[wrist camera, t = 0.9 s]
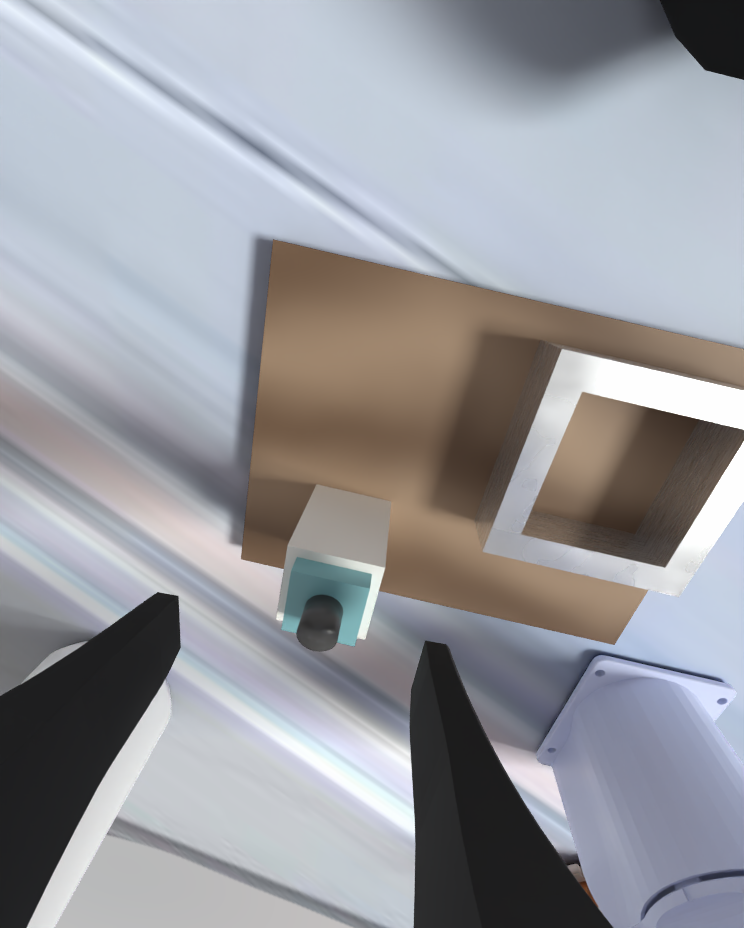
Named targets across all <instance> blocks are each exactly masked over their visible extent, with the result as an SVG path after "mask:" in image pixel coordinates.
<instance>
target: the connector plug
mask: <svg viewBox="0 0 744 928" xmlns="http://www.w3.org/2000/svg"><path fill="white" fill-rule="evenodd" d="M390 510H391V501H387V500H383V499H378V498H374V497H370V496H365V495H361V494H357V493H352V492H348V491H344V490H339V489H335V488H331V487H326V486H322V485H318V484H316V487H315V489H314V491H313V493H312V495H311V497H310V499H309V501H308V503H307V506H306V508H305V510H304V512H303V514H302V516H301V518H300V520H299V522H298V524H297V527H296V529H295V531H294V533H293V535H292V537H291V539H290V541H289V543H288V546H287V552H286V559H285V565H284V571H283V578H282V584H281V591H280V597H279V604H278V610H277V617H276V620H280V621H283V623H282V629H281V630H284V631H289V632H293V633H296V635H297V638H298V640H299V642H300V643H301V644H302V645H303V646H304V647H306V648H308V649H310V650H313V651H319V652H320V651H327V650H330V649H332V648H333V647H334V646H335V645H336V643H341V644H346V645H350V646H354V647H355V643H356V639H357V638H359V639H363V640H365V638H366V635H367V631H368V628H369V624H370V620H371V617H372V613H373V610H374V606H375V602H376V599H377V595H378V592H379V588H380V585H381V581H382V577H383V574H384V570H385V564H386V554H387V543H388V532H389V521H390Z"/></svg>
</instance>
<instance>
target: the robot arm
mask: <svg viewBox="0 0 744 928" xmlns="http://www.w3.org/2000/svg"><path fill="white" fill-rule="evenodd" d="M180 648H181V645H180V622H179V600H178V596H175V595H170V594H164V593H159V592H157V593H156V594H154V595H153V596H151V597H150V598H149V599H147V600H146V601H144V602H143V603H142V604H140V605H139V606H137V607H136V608H135V609H133V610H132V611H131V612H129V613H128V614H126V615H125V616H124V617H122V618H121V619H119V620H118V621H117V622H115V623H114V624H112V625H111V626H110V627H108V628H107V629H105V630H104V631H102V632H101V633H99V634H98V635H97V636H95V637H94V638H92V639H91V640H89V641H88V642H86V643H85V644H84V645H82V646H81V647H79V648H78V649H76V650H75V651H73V652H72V653H70V654H68V655H67V656H65V657H64V658H62V659H61V660H59V661H58V662H56V663H54V664H53V665H51V666H50V667H48V668H47V669H45V670H43V671H42V672H40V673H39V674H37V675H35V676H34V677H32V678H30V679H29V680H27V681H25V682H24V683H22V684H20V685H19V686H17V687H15V688H13V689H12V690H10V691H8V692H6V693H5V694H3V695H1V696H0V928H27V926H28V924H29V922H30V920H31V918H32V916H33V914H34V912H35V910H36V908H37V906H38V903H39V901H40V899H41V897H42V895H43V893H44V891H45V889H46V887H47V885H48V883H49V881H50V879H51V877H52V875H53V873H54V871H55V869H56V867H57V865H58V863H59V861H60V859H61V857H62V855H63V853H64V851H65V849H66V847H67V845H68V843H69V841H70V839H71V838H72V836H73V834H74V832H75V830H76V828H77V826H78V824H79V822H80V820H81V818H82V816H83V815H84V813H85V811H86V809H87V807H88V805H89V803H90V801H91V800H92V798H93V796H94V794H95V792H96V790H97V788H98V786H99V785H100V783H101V781H102V780H103V778H104V776H105V775H106V773H107V771H108V769H109V768H110V766H111V765H112V763H113V761H114V760H115V758H116V757H117V755H118V754H119V752H120V750H121V749H122V747H123V746H124V744H125V743H126V741H127V740H128V738H129V736H130V735H131V733H132V732H133V730H134V729H135V727H136V725H137V724H138V722H139V721H140V719H141V718H142V716H143V714H144V713H145V711H146V710H147V708H148V707H149V705H150V703H151V702H152V700H153V699H154V697H155V695H156V694H157V692H158V691H159V689H160V687H161V686H162V684H163V682H164V680H165V678H166V676H167V675H168V673H169V671H170V669H171V667H172V664H173V662H174V660H175V658H176V656H177V654H178V652H179V650H180ZM597 670H598V671H597ZM736 694H737V693H736V691H735V689H734V688H733V687H732V686H731V685H730V684H727V683H723V682H718V681H714V680H710V679H705V678H701V677H697V676H692V675H688V674H684V673H679V672H675V671H671V670H666V669H662V668H657V667H653V666H649V665H644V664H640V663H636V662H631V661H627V660H623V659H618V658H614V657H610V656H605V655H599V656H596V657H595V658H594V659H593V660H592V661H591V663H590V665H589V666H588V668H587V670H586V671H585V673H584V675H583V676H582V678H581V680H580V681H579V683H578V685H577V686H576V688H575V690H574V691H573V693H572V695H571V696H570V698H569V700H568V701H567V703H566V705H565V706H564V708H563V710H562V711H561V713H560V715H559V716H558V718H557V720H556V721H555V723H554V724H553V726H552V728H551V729H550V731H549V733H548V734H547V736H546V738H545V739H544V741H543V743H542V744H541V746H540V748H539V749H538V751H537V753H536V756H537V760H538V762H539V763H541V764H544V765H548V766H552V768H553V772H554V775H555V779H556V782H557V785H558V789H559V792H560V796H561V799H562V802H563V806H564V809H565V813H566V816H567V820H568V823H569V826H570V830H571V833H572V837H573V840H574V844H575V847H576V850H577V854H578V857H579V861H580V864H581V868H582V871H583V874H584V877H585V880H586V883H587V885H588V888H589V890H590V892H591V894H592V896H593V898H594V900H595V902H596V903H597V905H598V907H599V909H600V910H601V911H600V910H599V909H598V907H597V906H596V905H595V903H594V902H593V901H592V899H591V898H590V897H589V895H588V894H587V893H586V891H585V890H584V889H583V887H582V886H581V885H580V883H579V882H578V881H577V879H576V878H575V877H574V875H573V874H572V872H571V871H570V870H569V868H568V867H567V865H566V864H565V862H564V861H563V860H562V858H561V857H560V855H559V854H558V852H557V851H556V850H555V848H554V847H553V845H552V844H551V842H550V841H549V840H548V838H547V837H546V835H545V834H544V832H543V831H542V830H541V828H540V826H539V825H538V823H537V822H536V820H535V819H534V817H533V816H532V814H531V812H530V811H529V809H528V808H527V806H526V805H525V803H524V801H523V800H522V798H521V796H520V795H519V793H518V791H517V790H516V788H515V786H514V785H513V783H512V781H511V780H510V778H509V776H508V775H507V773H506V771H505V769H504V767H503V766H502V764H501V762H500V760H499V758H498V756H497V755H496V753H495V751H494V749H493V747H492V745H491V743H490V741H489V739H488V737H487V735H486V733H485V731H484V729H483V727H482V725H481V723H480V721H479V719H478V717H477V715H476V713H475V710H474V708H473V706H472V704H471V702H470V700H469V697H468V695H467V693H466V690H465V688H464V686H463V683H462V681H461V678H460V676H459V673H458V671H457V668H456V666H455V663H454V660H453V658H452V655H451V652H450V649H449V647H448V646H447V645H446V644H441V643H435V642H430V641H425V644H424V647H423V651H422V654H421V657H420V661H419V664H418V668H417V671H416V675H415V678H414V682H413V685H412V689H411V706H410V745H411V763H412V780H413V797H414V814H415V842H416V849H415V900H414V928H744V764H743V762H742V761H741V759H740V758H739V757H738V755H737V754H736V752H735V751H734V749H733V748H732V746H731V745H730V744H729V742H728V741H727V739H726V738H725V736H724V735H723V733H722V732H721V731H720V729H719V728H718V726H717V725H716V723H715V722H714V721H715V720H716V719H717V718H718V717H719V716H720V714H721V713H722V712H723V711H724V710H725V708H726V707H727V706H728V705H729V704H730V703H731V701H732V700H733V699H734V698H735V696H736ZM602 913H603V914H602Z"/></svg>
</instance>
